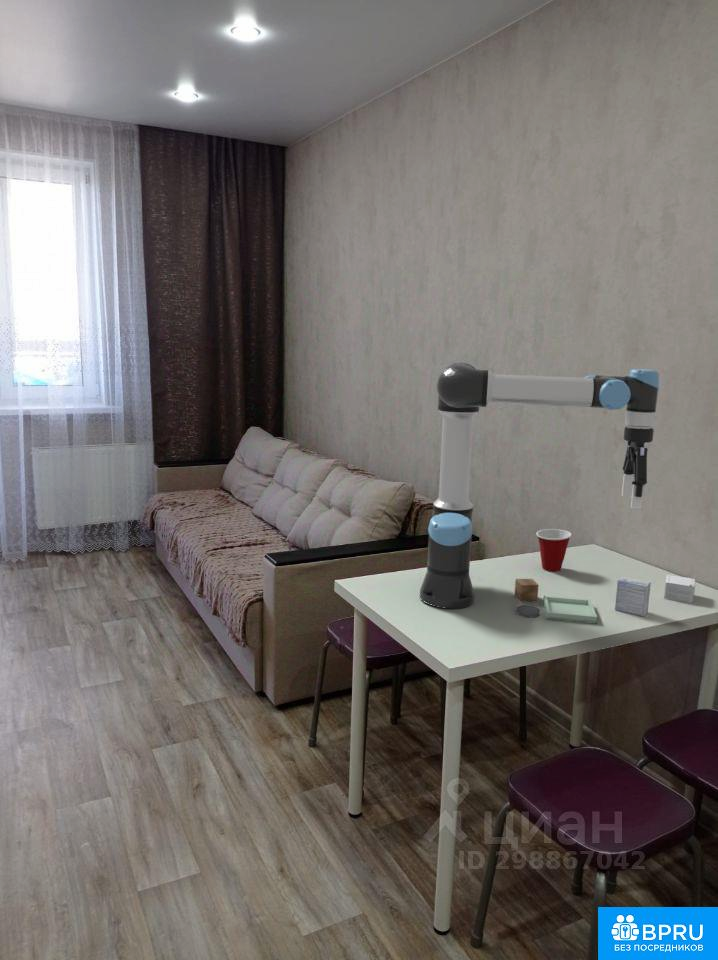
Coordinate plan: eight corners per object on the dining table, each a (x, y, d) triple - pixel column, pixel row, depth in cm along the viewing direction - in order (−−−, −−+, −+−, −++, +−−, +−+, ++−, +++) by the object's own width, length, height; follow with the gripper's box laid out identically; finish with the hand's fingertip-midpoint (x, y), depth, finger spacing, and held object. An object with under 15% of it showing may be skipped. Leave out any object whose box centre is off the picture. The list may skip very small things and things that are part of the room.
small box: (665, 590, 215) (667, 574, 214) (694, 595, 212) (696, 578, 211) (663, 599, 208) (665, 582, 207) (693, 603, 205) (695, 586, 204)
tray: (546, 619, 191) (547, 612, 191) (543, 601, 203) (543, 595, 203) (596, 623, 189) (597, 616, 189) (589, 605, 201) (590, 599, 201)
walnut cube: (519, 601, 203) (521, 585, 202) (514, 595, 208) (515, 578, 207) (537, 601, 204) (538, 584, 203) (531, 595, 208) (532, 578, 207)
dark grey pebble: (516, 617, 193) (517, 611, 192) (515, 608, 199) (516, 603, 198) (540, 619, 192) (540, 613, 192) (538, 610, 198) (538, 605, 197)
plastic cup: (527, 563, 236) (530, 528, 234) (558, 562, 238) (562, 527, 236) (542, 575, 226) (545, 537, 223) (574, 573, 228) (577, 537, 225)
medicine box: (648, 611, 198) (651, 581, 196) (644, 617, 194) (647, 586, 193) (618, 605, 202) (621, 575, 200) (614, 610, 199) (617, 580, 197)
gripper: (664, 433, 186) (655, 514, 190) (644, 421, 210) (636, 493, 214) (633, 432, 187) (625, 512, 191) (617, 420, 211) (609, 491, 215)
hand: (631, 502), depth 203 cm, fingers open, 13 cm apart
